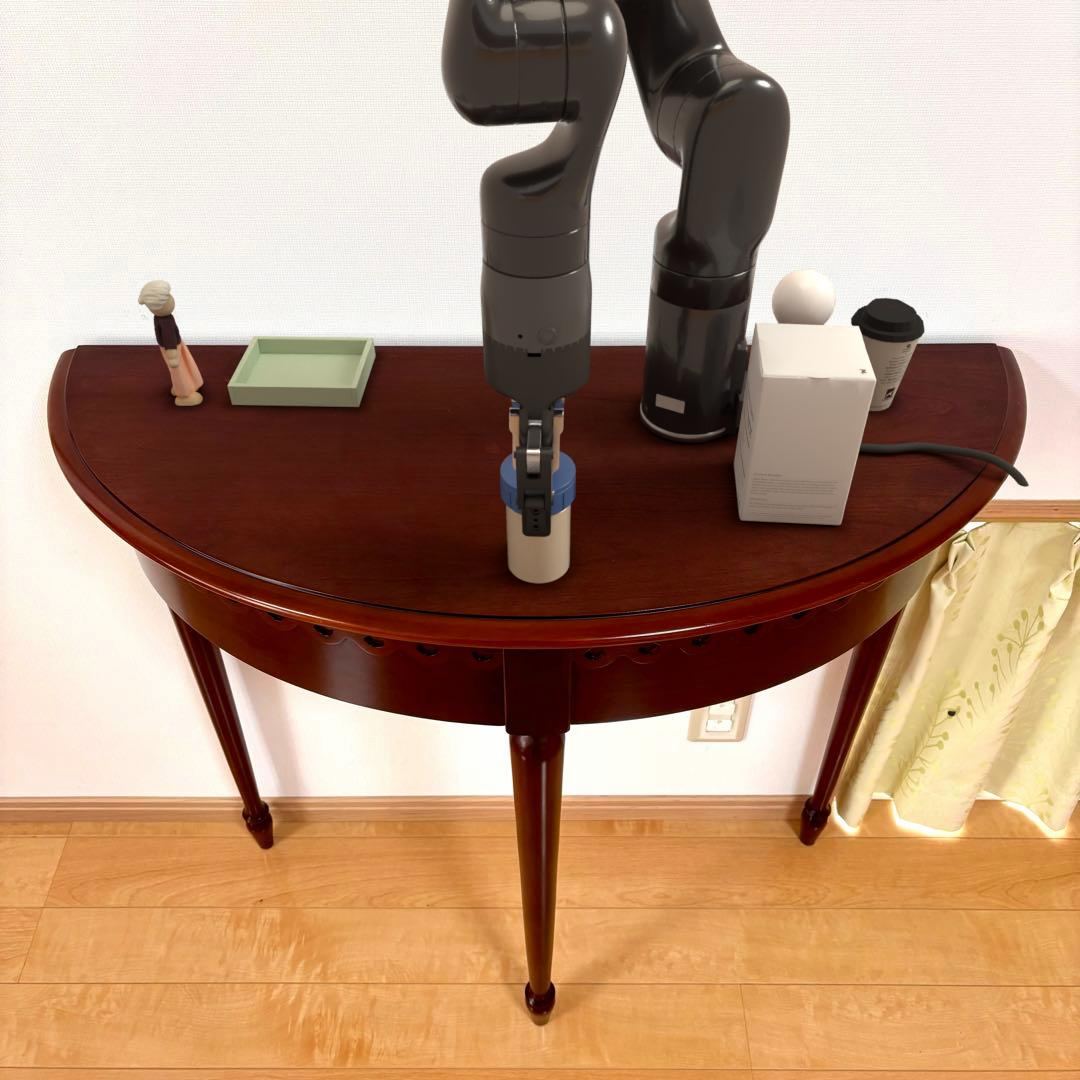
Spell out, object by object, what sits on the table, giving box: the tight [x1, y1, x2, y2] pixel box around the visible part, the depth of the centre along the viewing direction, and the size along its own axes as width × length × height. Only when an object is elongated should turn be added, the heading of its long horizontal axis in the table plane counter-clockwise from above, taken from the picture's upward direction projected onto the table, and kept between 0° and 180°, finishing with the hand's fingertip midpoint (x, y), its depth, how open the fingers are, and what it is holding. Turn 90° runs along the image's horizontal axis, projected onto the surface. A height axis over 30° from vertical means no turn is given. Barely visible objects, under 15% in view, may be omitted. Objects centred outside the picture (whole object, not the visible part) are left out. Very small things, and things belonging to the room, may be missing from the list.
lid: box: [499, 448, 577, 515], centre depth 75 cm, size 6×6×2 cm
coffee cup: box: [850, 297, 926, 412], centre depth 96 cm, size 7×7×10 cm
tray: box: [226, 335, 377, 408], centre depth 102 cm, size 13×10×2 cm
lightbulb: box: [771, 268, 837, 325], centre depth 100 cm, size 6×6×11 cm
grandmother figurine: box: [137, 279, 204, 407], centre depth 96 cm, size 8×4×13 cm, turn 34°
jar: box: [505, 503, 572, 584], centre depth 78 cm, size 5×5×9 cm
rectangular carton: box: [733, 321, 876, 526], centre depth 82 cm, size 9×9×15 cm
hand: (538, 507), depth 77 cm, fingers closed on lid, 5 cm apart
